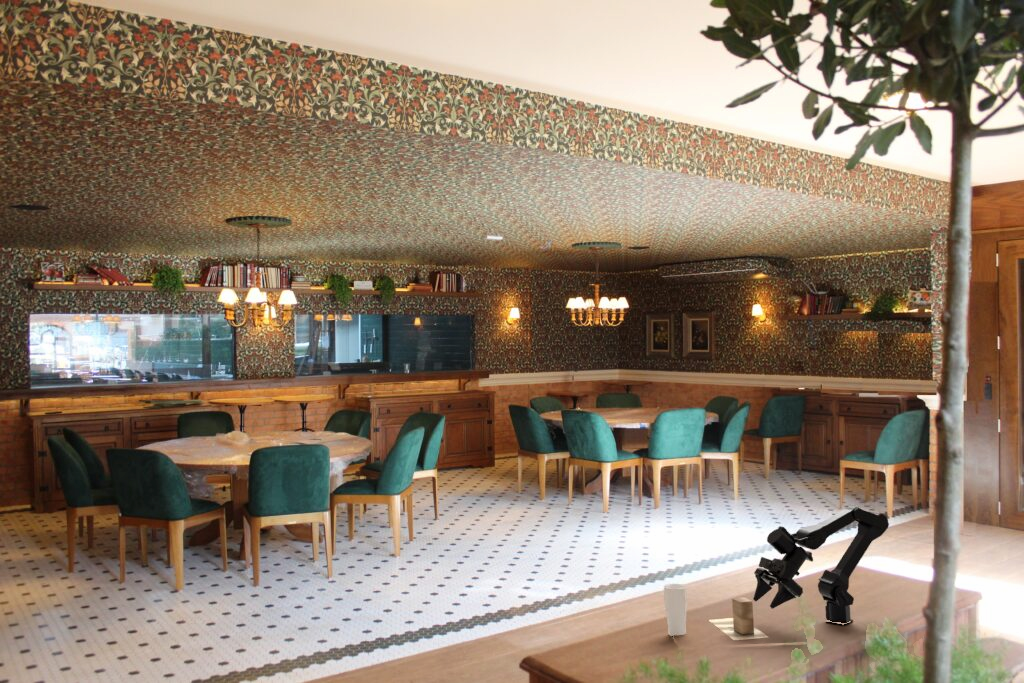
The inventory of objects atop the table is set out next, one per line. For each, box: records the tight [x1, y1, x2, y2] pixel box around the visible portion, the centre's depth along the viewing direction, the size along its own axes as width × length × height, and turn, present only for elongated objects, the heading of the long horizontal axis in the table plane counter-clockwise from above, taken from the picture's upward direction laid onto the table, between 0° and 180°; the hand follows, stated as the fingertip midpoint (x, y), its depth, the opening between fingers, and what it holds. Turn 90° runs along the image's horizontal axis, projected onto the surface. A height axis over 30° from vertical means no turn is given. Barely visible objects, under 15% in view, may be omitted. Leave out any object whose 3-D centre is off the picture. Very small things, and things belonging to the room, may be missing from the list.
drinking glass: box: [663, 583, 688, 638], centre depth 263 cm, size 7×7×15 cm
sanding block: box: [731, 596, 755, 636], centre depth 260 cm, size 4×5×10 cm
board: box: [708, 617, 770, 641], centre depth 265 cm, size 22×11×1 cm, turn 7°
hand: (762, 603), depth 262 cm, fingers open, 9 cm apart
